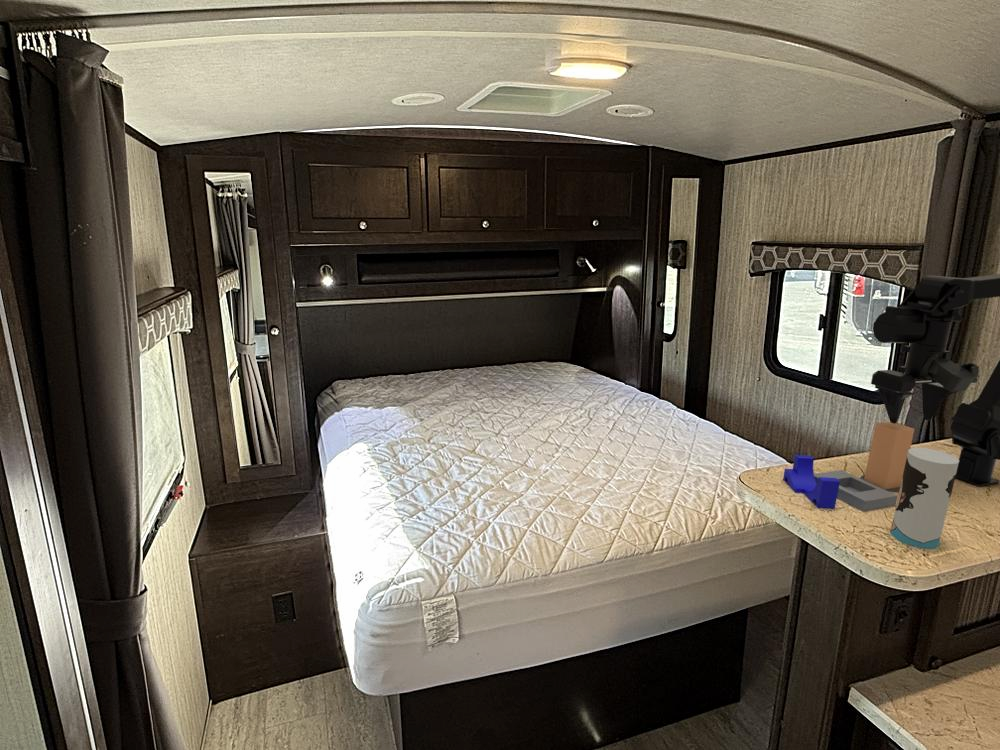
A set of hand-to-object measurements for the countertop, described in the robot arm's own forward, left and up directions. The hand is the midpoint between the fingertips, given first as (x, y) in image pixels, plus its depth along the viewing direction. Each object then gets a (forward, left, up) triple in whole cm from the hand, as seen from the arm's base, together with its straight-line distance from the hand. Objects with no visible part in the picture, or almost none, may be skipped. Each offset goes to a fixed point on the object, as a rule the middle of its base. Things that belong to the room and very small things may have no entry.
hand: (910, 421), depth 120 cm
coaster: (+4, 0, -13) cm, 14 cm away
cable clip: (+23, -1, -14) cm, 27 cm away
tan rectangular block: (+4, 0, -13) cm, 13 cm away
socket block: (+15, +2, -13) cm, 20 cm away
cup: (+19, +18, -13) cm, 29 cm away
